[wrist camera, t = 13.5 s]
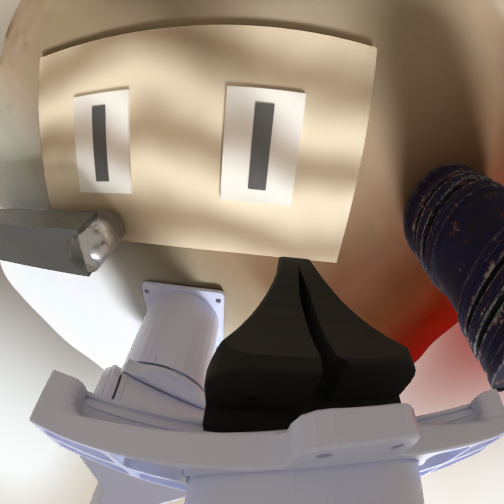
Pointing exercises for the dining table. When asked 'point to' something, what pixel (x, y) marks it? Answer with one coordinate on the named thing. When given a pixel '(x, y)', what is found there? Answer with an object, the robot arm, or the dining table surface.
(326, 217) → the label board
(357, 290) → the dining table surface
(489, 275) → the storage jar
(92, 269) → the grey square pillar
